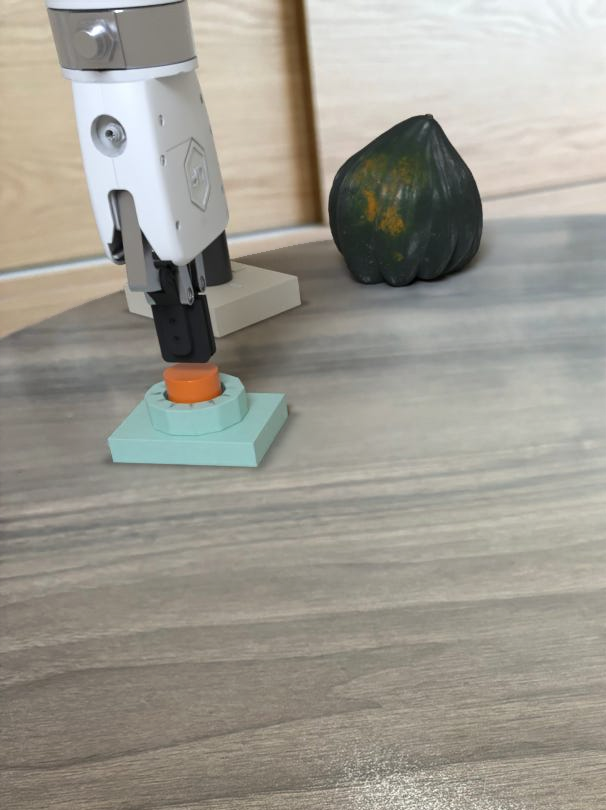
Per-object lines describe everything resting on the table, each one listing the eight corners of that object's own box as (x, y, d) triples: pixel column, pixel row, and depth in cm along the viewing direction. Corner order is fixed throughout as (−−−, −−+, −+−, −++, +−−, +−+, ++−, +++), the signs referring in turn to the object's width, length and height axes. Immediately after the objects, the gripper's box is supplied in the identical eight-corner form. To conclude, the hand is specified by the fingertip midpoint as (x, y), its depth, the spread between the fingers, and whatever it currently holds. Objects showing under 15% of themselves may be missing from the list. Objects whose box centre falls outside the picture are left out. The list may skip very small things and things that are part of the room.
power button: (160, 405, 69) (155, 380, 68) (179, 384, 72) (174, 359, 71) (212, 407, 68) (207, 382, 67) (229, 385, 71) (224, 361, 70)
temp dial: (226, 286, 91) (216, 223, 87) (182, 286, 91) (169, 224, 88) (237, 272, 94) (227, 211, 91) (194, 272, 94) (183, 211, 91)
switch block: (114, 468, 70) (100, 413, 67) (157, 418, 76) (145, 366, 74) (258, 473, 69) (248, 417, 66) (289, 421, 75) (281, 369, 73)
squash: (275, 229, 96) (361, 99, 87) (351, 197, 107) (435, 79, 98) (382, 342, 98) (478, 227, 88) (446, 299, 109) (537, 193, 100)
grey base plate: (130, 316, 94) (122, 281, 92) (213, 286, 100) (207, 253, 98) (219, 343, 88) (213, 306, 86) (301, 309, 94) (297, 274, 92)
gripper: (139, 61, 51) (208, 406, 62) (231, 24, 63) (275, 319, 74) (-3, 63, 52) (90, 403, 63) (114, 27, 64) (175, 318, 75)
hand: (190, 357), depth 69 cm, fingers closed
